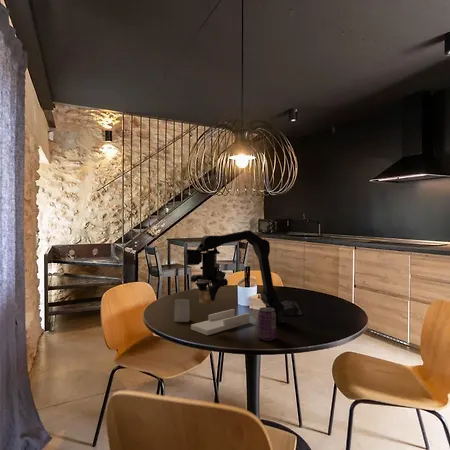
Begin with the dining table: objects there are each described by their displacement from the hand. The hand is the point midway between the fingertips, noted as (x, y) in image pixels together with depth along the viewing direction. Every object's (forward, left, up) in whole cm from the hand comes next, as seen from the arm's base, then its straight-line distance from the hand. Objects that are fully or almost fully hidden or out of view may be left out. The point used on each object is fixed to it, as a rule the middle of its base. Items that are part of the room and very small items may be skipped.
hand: (208, 300), depth 150 cm
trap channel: (0, -7, -13) cm, 15 cm away
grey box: (+19, +1, -13) cm, 23 cm away
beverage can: (-25, -9, -13) cm, 30 cm away
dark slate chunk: (-3, -53, -14) cm, 54 cm away
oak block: (0, +1, -1) cm, 1 cm away
